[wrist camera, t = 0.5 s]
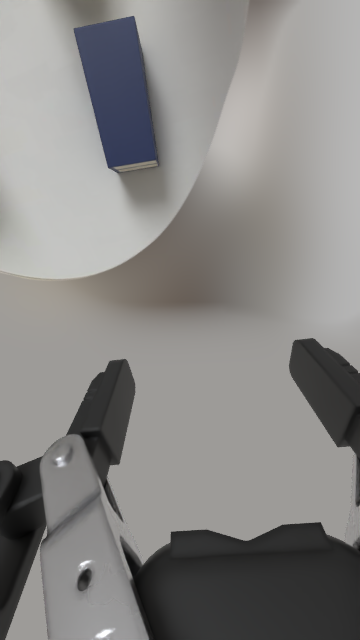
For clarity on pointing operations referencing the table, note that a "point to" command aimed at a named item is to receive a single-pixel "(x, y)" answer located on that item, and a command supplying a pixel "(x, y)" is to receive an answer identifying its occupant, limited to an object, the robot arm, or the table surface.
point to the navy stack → (119, 92)
